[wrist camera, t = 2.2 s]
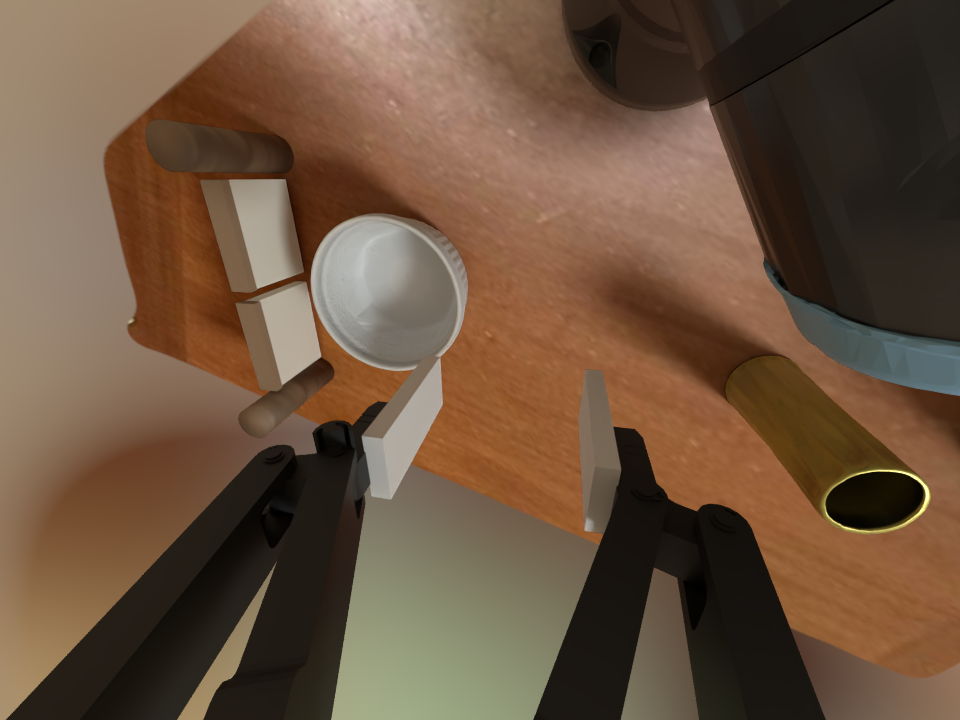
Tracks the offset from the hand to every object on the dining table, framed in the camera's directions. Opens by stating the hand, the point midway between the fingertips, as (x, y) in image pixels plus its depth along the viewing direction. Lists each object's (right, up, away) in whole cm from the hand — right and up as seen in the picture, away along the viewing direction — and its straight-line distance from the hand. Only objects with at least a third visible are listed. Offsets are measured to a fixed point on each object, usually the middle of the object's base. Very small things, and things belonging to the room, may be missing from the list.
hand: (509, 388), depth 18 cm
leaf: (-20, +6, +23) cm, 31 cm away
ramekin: (-8, +9, +19) cm, 23 cm away
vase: (+24, -1, +17) cm, 30 cm away
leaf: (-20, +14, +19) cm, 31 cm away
